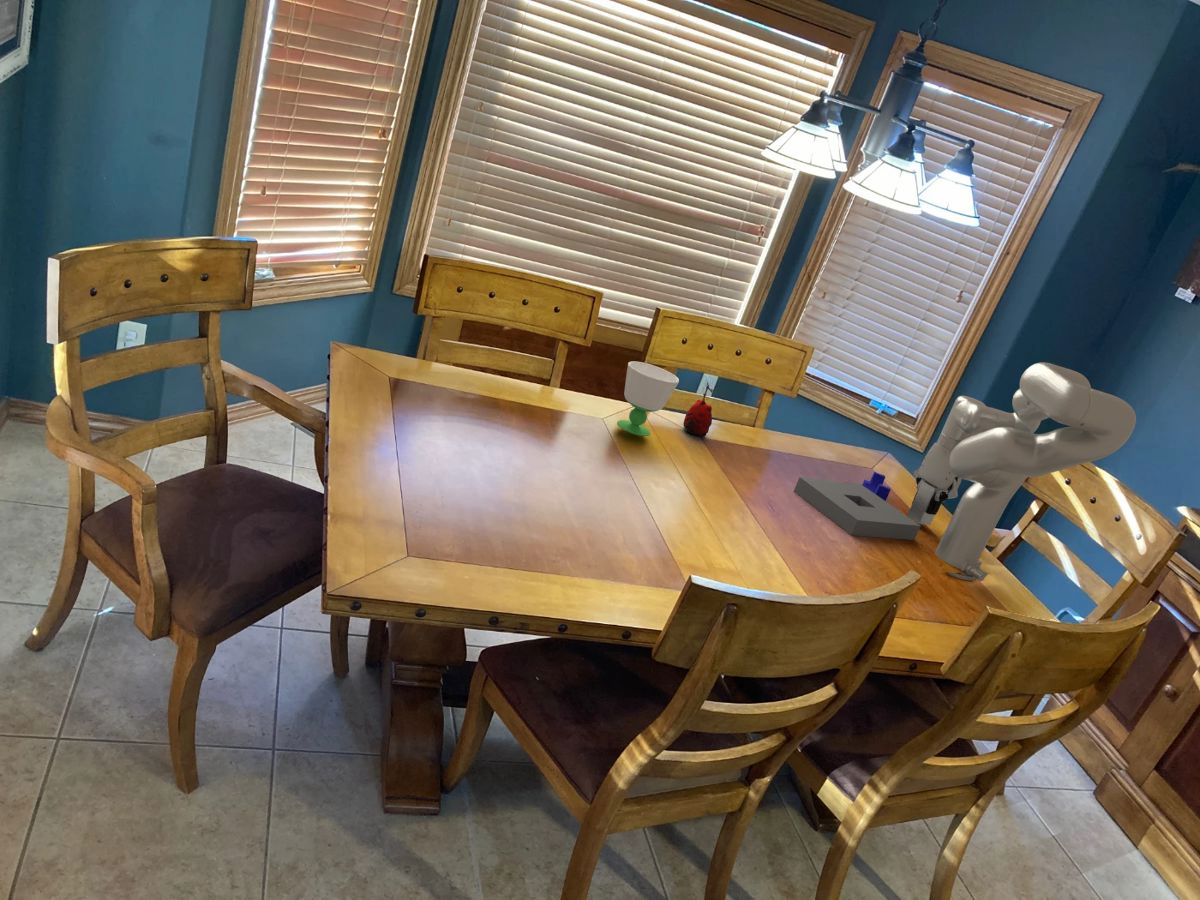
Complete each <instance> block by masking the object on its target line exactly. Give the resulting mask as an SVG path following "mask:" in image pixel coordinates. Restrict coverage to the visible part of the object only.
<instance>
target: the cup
mask: <svg viewBox="0 0 1200 900" xmlns="http://www.w3.org/2000/svg"><path fill="white" fill-rule="evenodd" d="M625 376H626V377H625V385H624V393H623V394H624V398H625V400H626V401H627V403H629V405H631V406H632V407H633V408H632V409H631V410H630V412H629V415H628V418H629V420H617V423H616V424H617V425H618V427H619V428H620V429H622V430H624V431H626V432H627V433H629V434H633V435H636V436H641V437H648V436H650V435H651V431H650V430H649V429H648V428H646V427H645V426H644V425H643V424H645V422H646V421H647V419H648V418H647V417H648V415H647V413H648V412H649V413H651V412H655V413H656V412H658V411H660V410H662V409H663V408H665V406H666V404H667V403H668V401H669V399H670V397H671V396H672V395H673V393H674V391H675V390H676V387H677V386H678V384H679V383H680V379H679V377H677V376H676V375H675V374H674V373H671V372H670V371H669V370H666V369H663V368H661V367H659V366H656V365H653V364H650V363H647V362H642V361H633V360H632V361H629V362H627V370H626V375H625Z"/></svg>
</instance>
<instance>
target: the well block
mask: <svg viewBox="0 0 1200 900" xmlns="http://www.w3.org/2000/svg"><path fill="white" fill-rule="evenodd" d="M793 492H794V493H795V494H797V495H798V496H800V498H802V499H803V500H804V501H806V502H807V503H808V504H810V505H811V506H813V507H814V508H815V509H816V510H817V511H819V512H820V513H822V514H823V516H825V517H827V518H828V519H829V520H831V521H832V522H833V523H834V524H835V525H837V526H838V527H840V528H841V529H842V530H844V532H846V533H847V534H849V535H851V536H857V537H869V538H871V537H872V538H883V539H895V540H905V541H907V540H908V541H915V539H916V537H917V535H918V532H919V531H920V529H921V527H922V525H921V524H919V523H917V522H915V521H914V520H912V519H911V518H909V517H908V516H907V515H906V514H904V513H903V512H902V511H900V510H899V509H897V508H895V507H894V506H893V505H892V504H890V503H888V502H887V500H886V501H884V500H883V499H881V498H880V497H879V496H877V495H876V494H874V493H873V492H871V491H870V490H868V489H867V488H866V487H864V486H863V485H862V484H861V483H851V482H846V481H845V482H843V481H837V480H836V481H835V480H829V479H828V480H827V479H820V478H819V479H818V478H811V477H802V476H799V478H798V479H797V482H796V485H795V487H794V489H793Z"/></svg>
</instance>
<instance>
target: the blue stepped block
mask: <svg viewBox="0 0 1200 900" xmlns="http://www.w3.org/2000/svg"><path fill="white" fill-rule="evenodd" d="M885 479H886V476H885V475H884V474H882V473H879V472H876V471H873V474H872V476H871V477H870V480H866V479H864V480H863V482H862V484H861V485H863V486H864V487H866V488H867V489H868V490H870V491H871V492H873V493H874V494H876V495H877V496H879V497H880V498H881V499H883V500H884V501H886V502H887V499H888V497H889V495H890V492H891V487H889V486H886V485H884V483H885V482H884V481H885Z"/></svg>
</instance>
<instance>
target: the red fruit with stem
mask: <svg viewBox="0 0 1200 900" xmlns="http://www.w3.org/2000/svg"><path fill="white" fill-rule="evenodd" d="M706 384H707V385H706V386H705V392H704V393H703V398H702V399H697V400H696V402H695V403H694V404H692V405H691V406H690V408H689V409H688V410H687V412H686V414H685V415H684V416H685V417H684V419H683V422H682V423H683V428H684V430H685V431H686V432H688V433H689V434H692V433H693V434H692V435H694V434H696V436H698V435H699V436H698V437H706V436H707V434H708V433H709V430H710V428H711V426H712V424H713V417H712V416H713V415H712V410H713V408H712V406H711V405H709V404H708V403H706V396H707V392H708V390H709V392H710V393H712V394H713V392H714V389H712V388H710V385H709V381H707V383H706Z"/></svg>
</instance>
